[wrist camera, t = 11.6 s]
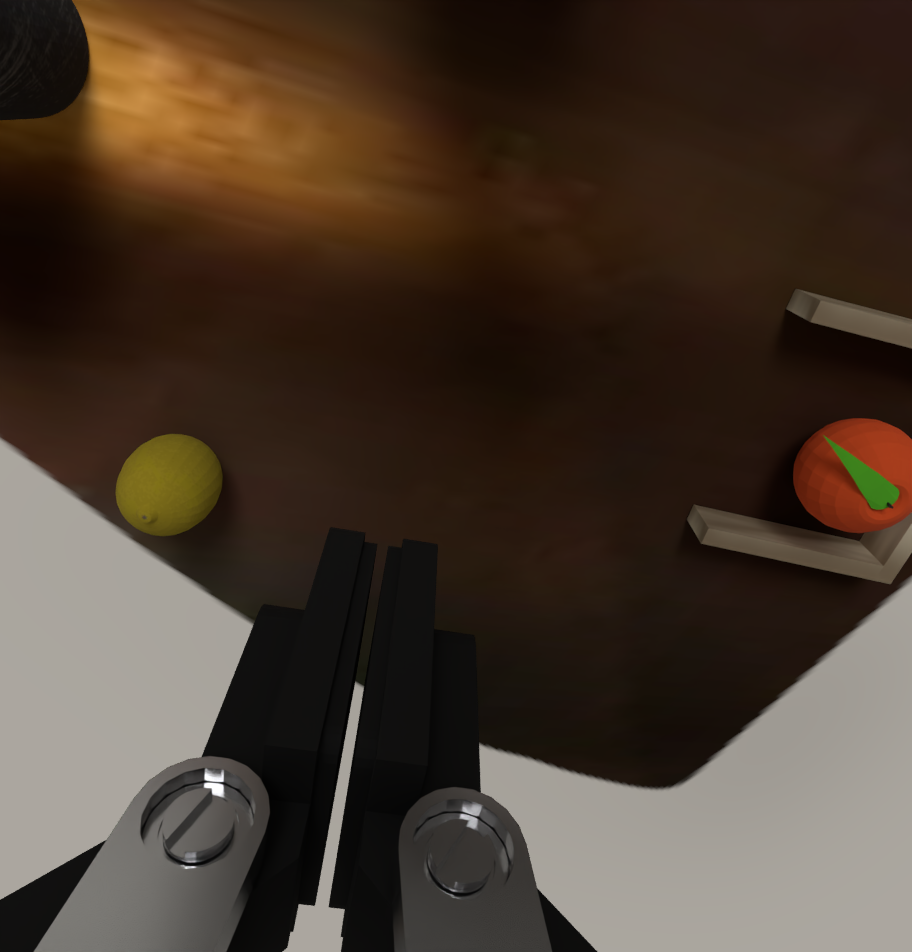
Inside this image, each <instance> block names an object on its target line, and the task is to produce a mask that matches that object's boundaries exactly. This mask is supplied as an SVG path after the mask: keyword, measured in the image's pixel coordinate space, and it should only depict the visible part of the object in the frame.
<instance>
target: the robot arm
mask: <svg viewBox="0 0 912 952" xmlns="http://www.w3.org/2000/svg"><path fill="white" fill-rule="evenodd" d="M364 540H365V533H364V532H358V531H351V530H345V529H339V528H332V527H331V528H330V530H329V533H328V536H327V539H326V543H325V546H324V549H323V553H322V556H321V559H320V562H319V566H318V569H317V572H316V576H315V579H314V582H313V585H312V589H311V592H310V595H309V599H308V602H307V605H306V609H305V610H300V609H293V608H287V607H280V606H273V605H266V604H264V605H263V606H262V607H261V609H260V611H259V613H258V615H257V618H256V620H255V623H254V625H253V628H252V630H251V633H250V636H249V638H248V641H247V643H246V646H245V648H244V651H243V654H242V656H241V658H240V661H239V664H238V666H237V669H236V671H235V674H234V676H233V679H232V681H231V684H230V686H229V689H228V691H227V694H226V697H225V699H224V702H223V704H222V707H221V709H220V712H219V714H218V717H217V719H216V722H215V724H214V727H213V729H212V732H211V734H210V737H209V740H208V742H207V745H206V747H205V750H204V752H203V755H202V757H201V758H193V759H188V760H185V761H183V762H180V763H178V764H175V765H173V766H170V767H168V768H166V769H165V770H163V771H162V772H160V773H159V774H158V775H156V776H155V777H153V778H152V779H151V780H149V781H148V782H147V783H146V785H145V786H144V787H143V788H142V789H141V791H140V792H139V793H138V794H137V795H136V796H135V797H134V799H133V801H132V802H131V804H130V805H129V807H128V808H127V809H126V811H125V813H124V814H123V816H122V817H121V819H120V820H119V822H118V824H117V825H116V826H115V828H114V829H113V831H112V833H111V834H110V836H109V837H108V839H107V840H106V841H103V842H102V843H100V844H98V845H97V846H95V847H93V848H91V849H89V850H88V851H86V852H84V853H82V854H80V855H79V856H77V857H75V858H74V859H72V860H70V861H68V862H66V863H65V864H63V865H61V866H59V867H58V868H56V869H54V870H52V871H50V872H49V873H47V874H45V875H43V876H42V877H40V878H38V879H36V880H34V881H33V882H31V883H29V884H28V885H26V886H24V887H22V888H20V889H19V890H17V891H15V892H13V893H12V894H10V895H8V896H6V897H4V898H3V899H1V900H0V952H282V951H284V950H285V949H286V948H287V946H288V941H289V936H290V932H293V930H294V925H295V919H296V915H297V910H298V905H299V904H303V905H313V906H314V905H315V902H316V896H317V892H318V886H319V880H320V875H321V869H322V863H323V858H324V852H325V847H326V841H327V836H328V830H329V824H330V819H331V813H332V808H333V802H334V797H335V790H336V785H337V780H338V774H339V768H340V763H341V758H342V752H343V746H344V740H345V735H346V729H347V724H348V718H349V713H350V707H351V701H352V696H353V690H354V685H355V679H356V673H357V667H358V661H359V655H360V648H361V642H362V636H363V630H364V624H365V618H366V611H367V605H368V599H369V593H370V587H371V581H372V574H373V568H374V562H375V556H376V550H377V544H374V543H367V542H364ZM437 552H438V545H437V544H433V543H427V542H421V541H414V540H408V539H403V543H402V548H399V547H393V546H388V551H387V557H386V563H385V569H384V574H383V580H382V586H381V592H380V598H379V603H378V609H377V615H376V621H375V627H374V633H373V638H372V644H371V650H370V656H369V662H368V667H367V673H366V679H365V685H364V691H363V698H362V704H361V710H360V716H359V723H358V729H357V735H356V741H355V748H354V754H353V760H352V766H351V772H350V778H349V785H348V791H347V796H346V803H345V809H344V815H343V821H342V827H341V834H340V840H339V846H338V852H337V858H336V864H335V871H334V877H333V883H332V889H331V895H330V902H329V907H331V908H340V909H345V912H344V918H343V925H342V932H341V937H343V941H342V949H341V952H597V951H596V950H595V949H594V948H593V947H592V946H591V945H590V944H589V943H588V942H587V940H586V939H585V938H584V937H583V936H582V935H581V934H580V933H579V932H578V931H577V930H576V929H575V928H574V927H573V926H572V925H571V923H570V922H568V920H567V919H566V918H565V917H564V916H563V915H562V914H561V913H560V912H559V911H558V910H557V909H556V908H555V907H554V906H553V904H552V903H551V902H550V901H548V899H547V898H546V897H545V896H544V895H543V894H542V893H541V892H540V891H539V890H538V889H537V886H536V882H535V878H534V874H533V870H532V865H531V861H530V857H529V853H528V849H527V845H526V842H525V839H524V837H523V834H522V832H521V829H520V827H519V825H518V824H517V822H516V821H515V820H514V818H513V817H512V816H511V815H510V813H509V812H508V810H507V809H506V808H504V807H503V806H501V805H500V804H499V803H498V802H496V801H495V800H494V799H493V798H492V797H489V796H487V795H485V794H483V793H481V790H480V759H479V729H478V698H477V667H476V643H475V637H474V635H470V634H463V633H456V632H450V631H443V630H436V629H434V617H435V596H436V574H437Z"/></svg>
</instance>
